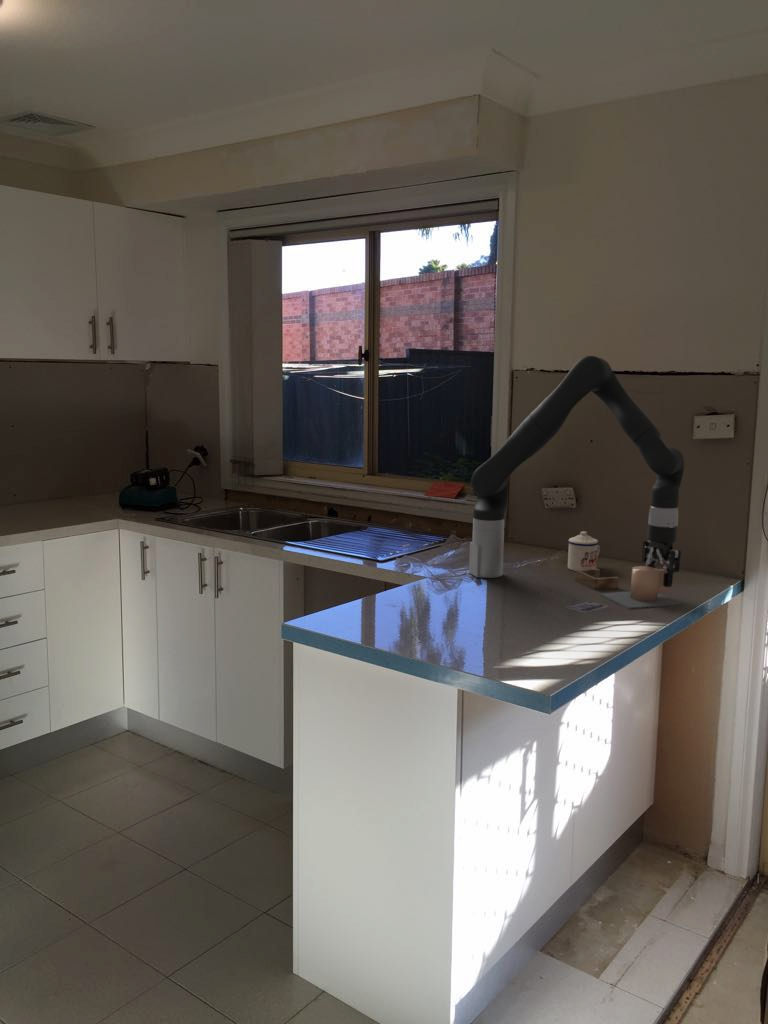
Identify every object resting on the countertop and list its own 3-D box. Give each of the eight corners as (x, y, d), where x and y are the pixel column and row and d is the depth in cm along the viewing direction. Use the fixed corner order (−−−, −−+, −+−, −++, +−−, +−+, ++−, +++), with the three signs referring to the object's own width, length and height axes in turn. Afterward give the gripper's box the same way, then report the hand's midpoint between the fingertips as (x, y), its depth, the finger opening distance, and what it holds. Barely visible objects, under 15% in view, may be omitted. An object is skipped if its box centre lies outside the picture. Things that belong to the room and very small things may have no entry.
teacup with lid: (583, 573, 260) (585, 536, 258) (560, 567, 267) (562, 531, 265) (609, 568, 267) (611, 531, 265) (586, 563, 274) (588, 527, 272)
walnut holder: (594, 589, 242) (594, 579, 241) (574, 580, 252) (575, 570, 252) (617, 587, 244) (618, 577, 243) (597, 578, 254) (598, 568, 254)
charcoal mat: (628, 609, 223) (628, 607, 223) (599, 595, 236) (600, 593, 236) (681, 604, 227) (681, 603, 227) (650, 591, 241) (650, 589, 241)
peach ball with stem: (639, 602, 228) (641, 573, 226) (625, 595, 234) (626, 566, 233) (673, 599, 231) (676, 570, 229) (658, 593, 237) (660, 564, 236)
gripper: (635, 518, 235) (631, 577, 238) (667, 528, 222) (662, 590, 225) (659, 517, 238) (655, 575, 240) (691, 527, 224) (687, 588, 227)
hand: (658, 582), depth 233 cm, fingers open, 7 cm apart
